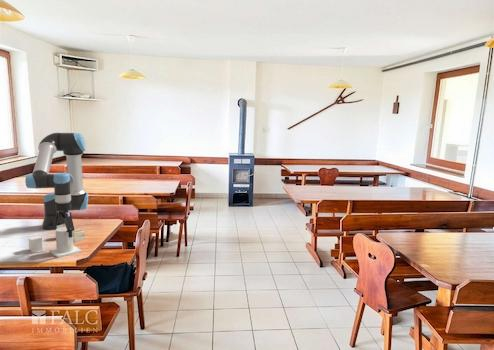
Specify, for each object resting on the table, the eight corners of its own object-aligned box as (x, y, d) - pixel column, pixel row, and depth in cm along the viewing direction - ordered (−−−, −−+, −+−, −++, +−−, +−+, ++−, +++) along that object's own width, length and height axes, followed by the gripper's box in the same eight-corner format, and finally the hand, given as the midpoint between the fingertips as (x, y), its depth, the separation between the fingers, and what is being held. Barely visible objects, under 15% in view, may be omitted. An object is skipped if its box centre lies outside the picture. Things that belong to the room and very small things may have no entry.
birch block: (70, 240, 193) (69, 230, 192) (80, 238, 197) (80, 228, 196) (74, 243, 189) (74, 233, 188) (84, 240, 193) (84, 231, 192)
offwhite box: (29, 250, 176) (28, 237, 175) (39, 247, 180) (38, 235, 179) (32, 252, 173) (31, 240, 172) (42, 250, 177) (41, 238, 176)
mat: (49, 251, 174) (49, 250, 174) (72, 246, 183) (72, 244, 183) (57, 258, 167) (57, 256, 166) (81, 251, 176) (81, 250, 176)
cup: (66, 253, 170) (65, 232, 168) (53, 252, 172) (51, 230, 170) (77, 248, 178) (76, 227, 176) (64, 246, 180) (63, 226, 178)
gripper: (46, 198, 176) (48, 235, 179) (64, 207, 160) (66, 247, 163) (61, 196, 182) (63, 232, 185) (80, 204, 166) (82, 243, 169)
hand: (65, 239), depth 174 cm, fingers open, 13 cm apart
